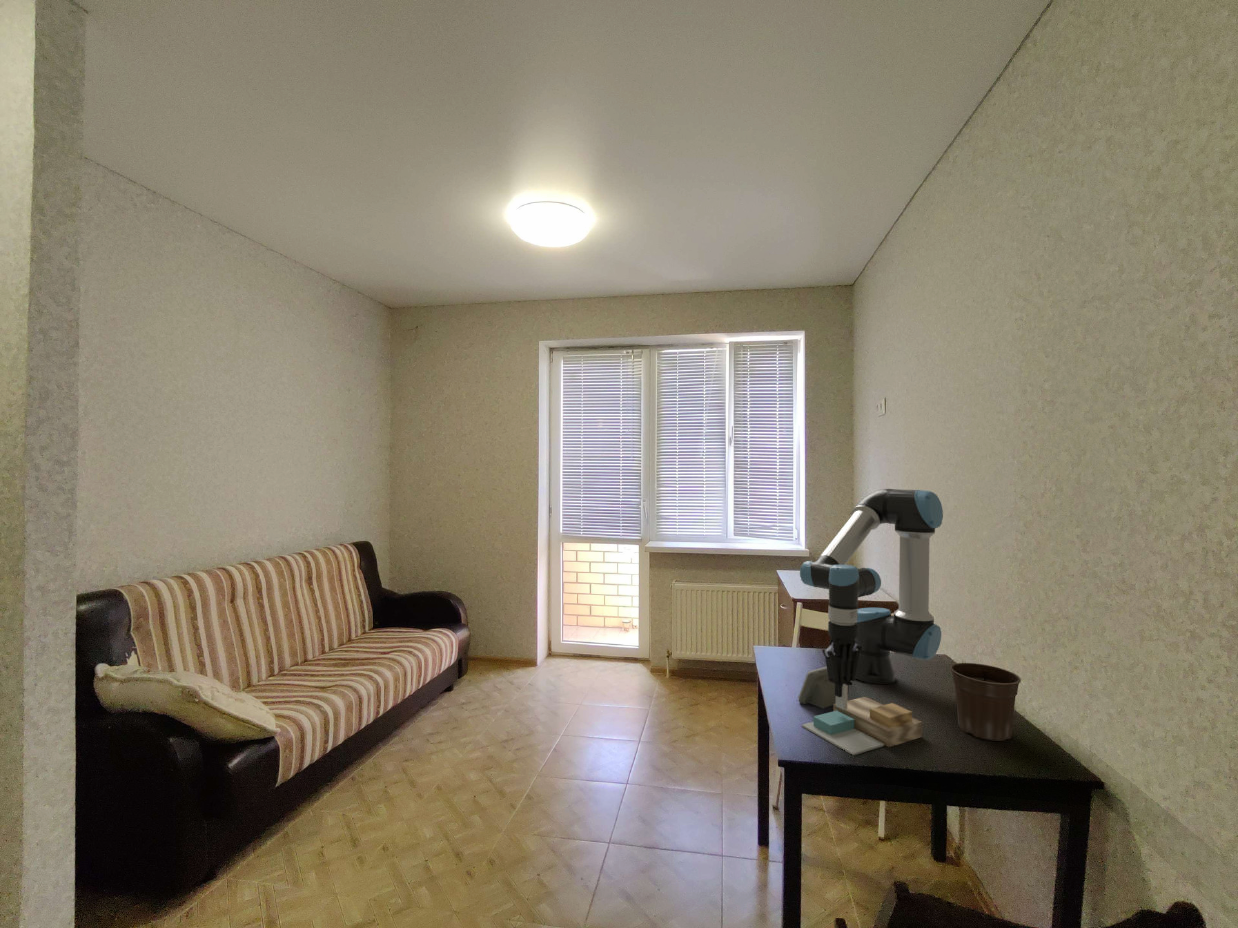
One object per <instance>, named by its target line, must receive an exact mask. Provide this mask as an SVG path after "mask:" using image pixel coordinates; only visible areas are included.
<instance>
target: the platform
mask: <svg viewBox="0 0 1238 928" xmlns="http://www.w3.org/2000/svg"><path fill="white" fill-rule="evenodd" d="M883 705H884V704H883V703H881V702H878V701H876V700H873V699H871V698H869V697H868V696H862V697H858V698H854V699H850V700H849V699H848V700H847V709H845V710H843V709H841V708H839V707H837V706H836V704H833V705H832V708H833V711H839V712H841V713H843V714H845V715H847V716H849V717H851V718H853V719H855V722H854V729H856V730H858V731H860V732H862V733H864V734H866V735H868V736H870V737H872V738H874V739H876V740H878V741H880V742H882V743H884V746H886V747H888V748H891V747H894V745H895V746H897V745H898V746H899V745H900V744H904V743H907V742H910V741H913V740H916V739H920V738H922V737H923V721H921V720H919V719H916V718H914V717H912V721H910V722H907V723H903V724H900V725H897V726H893V727H890V728H889V727H887V726H885V725H883V724H881V723H879V722H877V721H875V720H873V719H871V718H870V709H871V708H875V707H879V706H883ZM833 711H832V712H833Z"/></svg>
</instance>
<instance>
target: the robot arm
mask: <svg viewBox="0 0 1238 928" xmlns="http://www.w3.org/2000/svg"><path fill="white" fill-rule="evenodd" d="M942 505H943V504H942V502H941V499H940V498H939V496H938V495H937V493H935V492H933V491H929V490H924V489H923V490H922V489H897V488H895V489H893V488H883V489H879V490H877V491H876V490H875V491H874V492H871V493H870V494H868V495H867V496H865V497H864V498H862V499H861V500H859V502H857V504H856V505H855V506H854V507H853V508H852V510H851V512H850V517H849V519H847V521H846V522H845V524H844V525H843V526H842V527H841V528H840V530H838V532H837V533H836V535H835V536H834V537H833V539H832V540H831V541H830V543H829V544H828V545H827V546H826V548H825V549H824V550H823V551H822V553H821V554H820V555H819V557H817V558H816V560H815V561H813V560H807V561H804V562H803V563H802V564H801V566H800V570H799V577H800V581H801V582H802V583H803V584H804V585H807V586H809V587H813V588H818V589H825V590H828V615H827V616H828V617H827V618H828V620H829V621H828V626H827V628H828V629H827V632H828V635H829V637H830V640H829V645H828V647H827V648H822V653H823V656H824V658H825V665H826V666H827V671H828V677H829V681H830V682H832V683H834V684H835V695H836V706H837V707H839V708H841V709H843V710H845V709H847V701H849V699H848V697H849V692H850V691H849V689H850V687H849V686H852V685H853V682H854V681H855V680H856V679H858V680H857V681H859V680H860V682H862V681H865V682H864V683H866V682H867V684H872V683H875V684H874V685H890V684H893V683H894V682H895V681H896V672H895V670H894V666H893V663H892V659H891V654H890V653H895V654H898V655H903V656H906V657H910V658H913V659H916V660H917V659H918V660H922V661H929V660H931V659H933V658H934V656H936V654H937V652H938V650H939V648H940V645H941V641H942V630H941V627H940V626H939V625H938V624H936V623H935V618H934V615H932V613H930V611H929V609H930V607H929V605H930V604H929V603H930V602H929V601H930V597H929V595H930V540H931V539H930V538H931V537H932V536H933V535H935V534H936V529H937V528H940V527H941V525H942V524H943V520H944V519H943V517H944V510H943V506H942ZM883 524H889V525H891V524H892V525H894V531H895V533H897V535H898V536H899V567H898V568H899V570H898V571H899V573H898V577H899V579H898V580H899V581H898V583H899V584H898V585H899V586H898V608H897V609H896V610H894V611H893V615H892V612H891V610H890V609H889V608H884V607H862V608H859V598H861V597H866V596H871V595H873V594H874V593H876V592H878V591H879V590H880V588H881V586H882V578H881V576H880V574H879V573H878V572H877V571H876V570H875V569H873V568H870V567H861V568H857V566H855V565H850V564H848V562H849V561H850V560H851V558H852V557H853V555H854V554H855V553H856V551H857V550H858V549H859V547H860V546H861V545H862V543H863V542H864V541H865V539H866V538H867V536H868V535H869V534H870V532H871V531H872V530H873V531H874V530H876V529H877V528H878V527H879V526H881V525H883Z"/></svg>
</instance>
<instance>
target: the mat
mask: <svg viewBox="0 0 1238 928" xmlns="http://www.w3.org/2000/svg"><path fill="white" fill-rule="evenodd" d="M801 727H802V728H804V729H805V730H807V731H808V732H811V733H813V734H814V735H816V736H818V737H820V738H822V739H823V740H825V741H827V742H829V743H830V744H832V745H833V746H835V747H838V748H839V749H841V750H842V749H843V750H842V751H844V750H845V751H844V752H846V753H847V754H850V755H851V754H852V756H856V755H860V754H862V753H866V752H868V751H871V750H875V749H879V748H882V747H885V745H884V743H882V742H880V741H878V740H876V739H874V738H872V737H870V736H868V735H866V734H864V733H862V732H860V731H858V730H856V729H851V730H847V731H844V732H840V733H836V734H833V735H830V734H828V733H826V732H824V731H822V730H820V729H819V728H817V727H815V726H813V721H811V722H807V723H804V724H801Z"/></svg>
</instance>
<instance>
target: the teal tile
mask: <svg viewBox="0 0 1238 928" xmlns="http://www.w3.org/2000/svg"><path fill="white" fill-rule="evenodd" d="M812 722H813V726H815V727H817V728H819V729H820V730H822V731H824V732H826V733H828V734H830V735H833V734H836V733H840V732H844V731H847V730H851V729H854V722H855V719H853V718H851V717H849V716H847V715H845V714H843V713H841V712H839V711H830V712H825V713H822V714H818V715H814V716H813V720H812Z"/></svg>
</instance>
